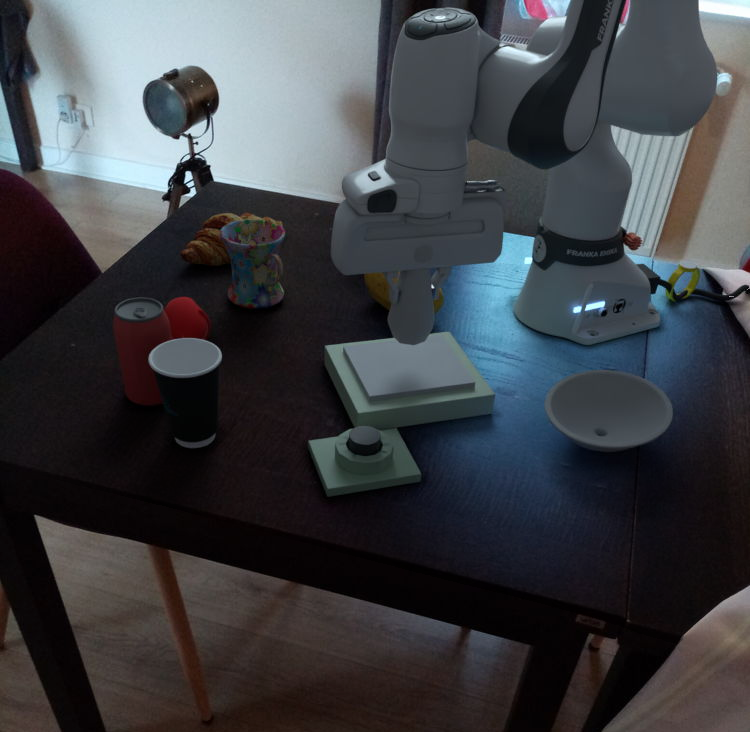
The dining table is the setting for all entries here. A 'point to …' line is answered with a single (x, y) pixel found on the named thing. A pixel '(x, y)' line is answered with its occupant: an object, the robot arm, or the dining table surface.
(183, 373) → the dixie cup
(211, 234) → the croissant
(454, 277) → the dining table surface
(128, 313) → the beer can
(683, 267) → the watch
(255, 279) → the mug
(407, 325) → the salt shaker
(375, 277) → the potato
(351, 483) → the green dial panel
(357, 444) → the tare button
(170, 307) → the cap
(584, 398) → the dish
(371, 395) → the scale
